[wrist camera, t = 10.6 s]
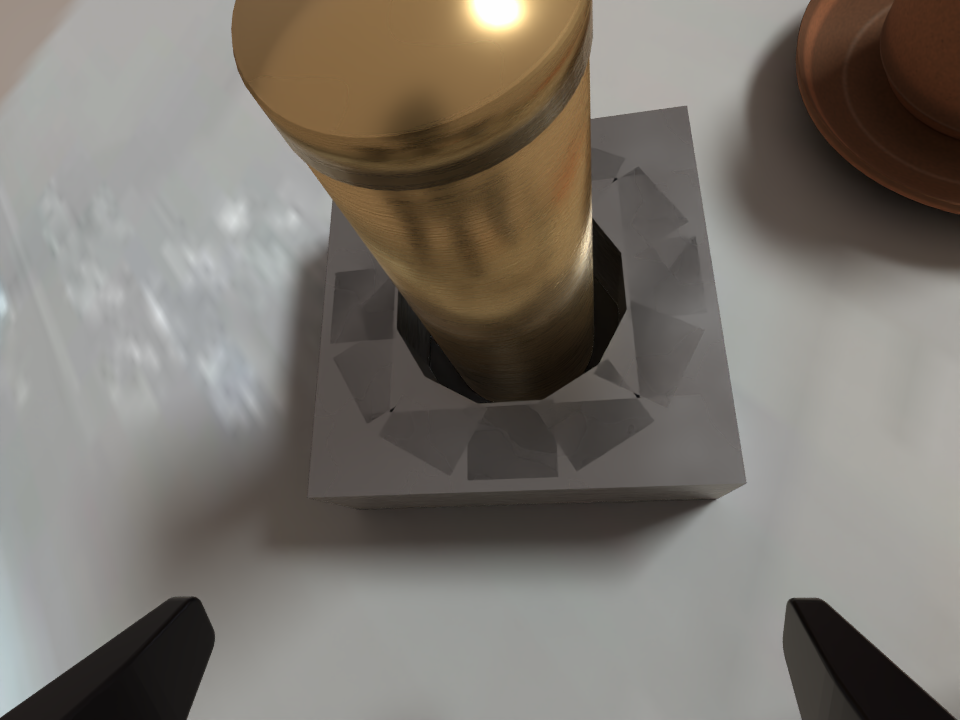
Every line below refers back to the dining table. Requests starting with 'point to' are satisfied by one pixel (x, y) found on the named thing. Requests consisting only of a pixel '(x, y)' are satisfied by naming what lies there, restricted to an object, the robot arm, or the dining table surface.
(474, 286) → the gold metallic cylinder
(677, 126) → the block
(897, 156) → the cup and saucer
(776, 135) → the dining table surface
